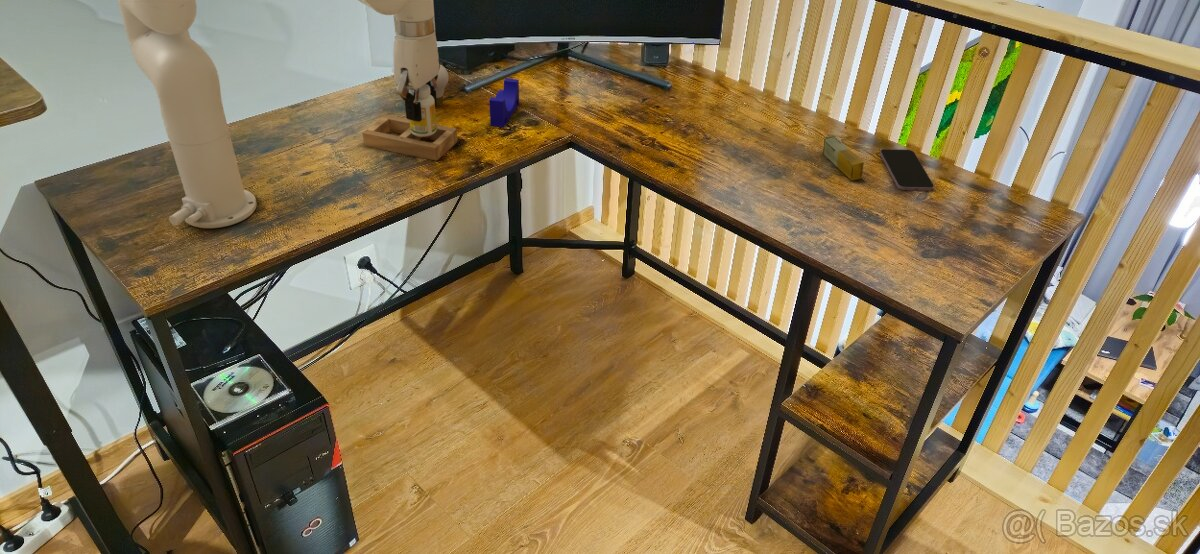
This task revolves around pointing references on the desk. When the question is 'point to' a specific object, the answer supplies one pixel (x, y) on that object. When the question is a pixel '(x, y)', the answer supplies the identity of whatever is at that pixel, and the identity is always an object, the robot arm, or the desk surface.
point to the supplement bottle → (425, 114)
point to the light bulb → (441, 84)
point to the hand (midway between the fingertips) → (421, 113)
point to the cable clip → (504, 103)
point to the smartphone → (906, 170)
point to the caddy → (409, 138)
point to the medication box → (843, 158)
